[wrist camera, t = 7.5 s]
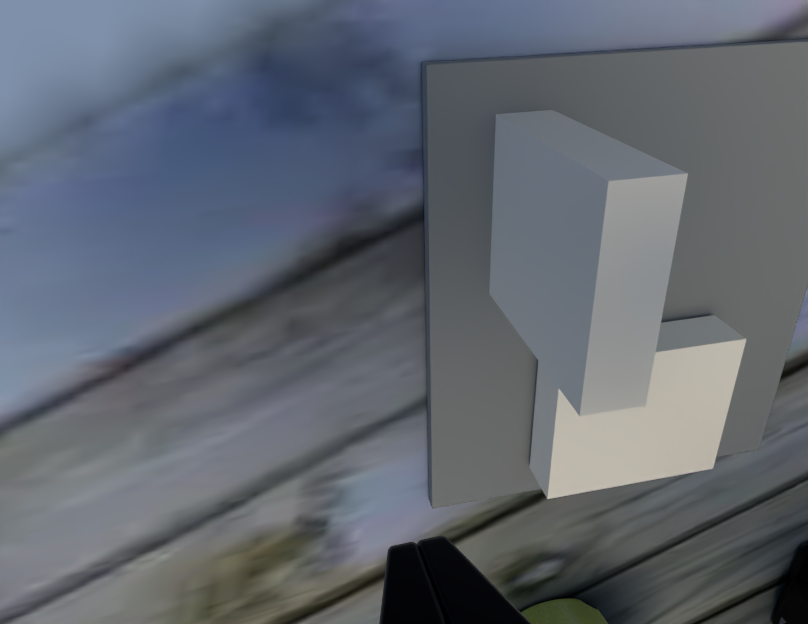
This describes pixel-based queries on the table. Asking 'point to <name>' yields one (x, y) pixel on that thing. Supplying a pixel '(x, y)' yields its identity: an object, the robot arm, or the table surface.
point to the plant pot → (563, 613)
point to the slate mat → (695, 243)
